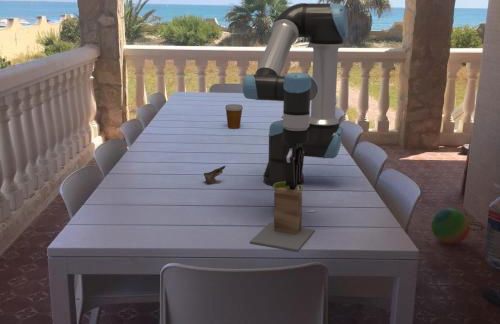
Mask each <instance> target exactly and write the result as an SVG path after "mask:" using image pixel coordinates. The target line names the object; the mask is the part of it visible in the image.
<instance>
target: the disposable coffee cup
mask: <svg viewBox="0 0 500 324" xmlns="http://www.w3.org/2000/svg"><path fill="white" fill-rule="evenodd" d="M224 109H225V112H226V121H227V128H228V129H231V130H238V129H240V128H241V121H242V113H243V109H244V108H243V105H242V104H237V103H235V104H233V103H232V104H231V103H230V104H226V105H225V107H224Z"/></svg>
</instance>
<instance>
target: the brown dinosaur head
mask: <svg viewBox="0 0 500 324" xmlns="http://www.w3.org/2000/svg"><path fill="white" fill-rule="evenodd" d="M226 166H227V165H224V166H221V167H219V168H216V169H213V170H212V171H211V170H210V171H209V172H204V173H203V176H204V180H205V182H207V183H208V184H213V183H212V182H217V183H216V184H219V183H218V182H222V181H221V180H217V179H216V177H218V176H220V175H221V174H223V170H224V169H225V168H226Z"/></svg>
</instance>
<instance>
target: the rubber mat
mask: <svg viewBox="0 0 500 324" xmlns="http://www.w3.org/2000/svg"><path fill="white" fill-rule="evenodd" d="M315 231H316V230H315V229H313V228H309V227H307V228H306V227H303V226H301V230H300V232H299V233H298V234H297V235H296V234H290V233H284V232H277V231H274V222H269V223H267V225H265V226H264V227H263V228H262V229H261V230H260V232H258V233H257V234H256V235H255V236H254V237H253V238H252V239H250V241H249V244H253V245H258V246H264V247H270V248H275V249H281V250H286V251H287V250H288V251H292V252H299V251H300V250H301V248H303V246H304V245H305V244H306V243H307V242H308V240H309V239H310V238H311V237H312V235H313V234H314V233H315Z"/></svg>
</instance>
